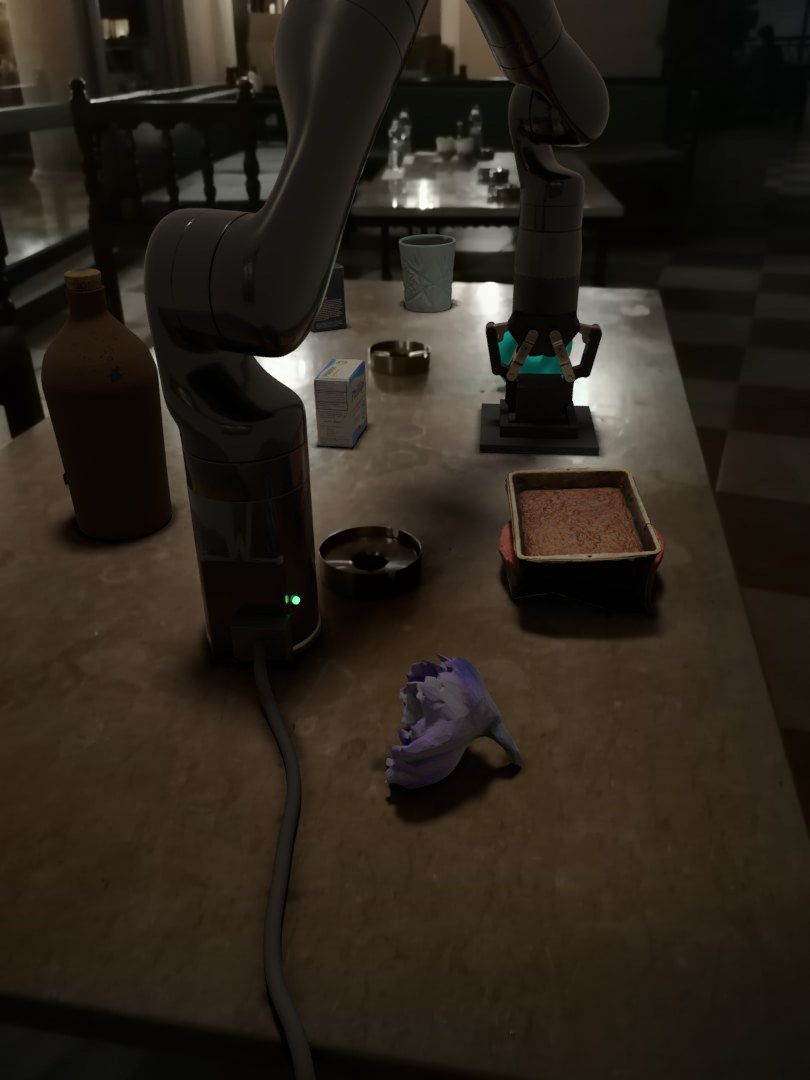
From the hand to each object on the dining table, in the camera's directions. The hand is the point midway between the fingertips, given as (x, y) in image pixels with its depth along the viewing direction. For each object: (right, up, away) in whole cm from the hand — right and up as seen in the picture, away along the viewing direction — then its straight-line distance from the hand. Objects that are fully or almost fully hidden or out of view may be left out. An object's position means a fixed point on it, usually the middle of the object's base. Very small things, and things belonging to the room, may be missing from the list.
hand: (538, 407), depth 112 cm
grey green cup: (-12, +27, +56) cm, 63 cm away
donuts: (+2, +6, +17) cm, 18 cm away
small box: (-31, +21, +47) cm, 60 cm away
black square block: (0, 0, 0) cm, 1 cm away
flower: (-13, -31, -50) cm, 61 cm away
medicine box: (-24, -3, +1) cm, 24 cm away
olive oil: (-45, -14, -18) cm, 51 cm away
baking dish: (-1, -20, -29) cm, 35 cm away
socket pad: (0, -3, +2) cm, 3 cm away
